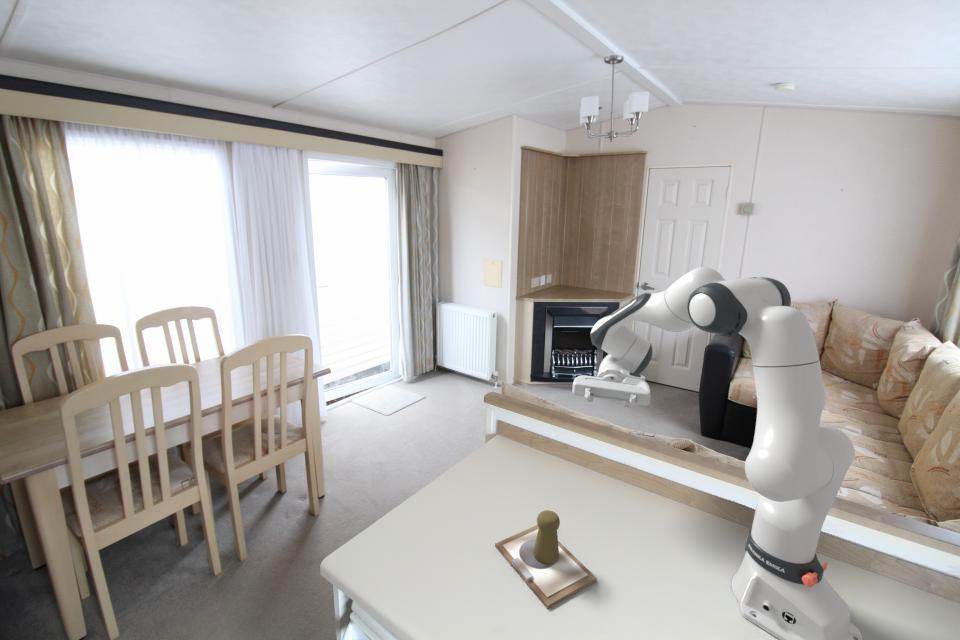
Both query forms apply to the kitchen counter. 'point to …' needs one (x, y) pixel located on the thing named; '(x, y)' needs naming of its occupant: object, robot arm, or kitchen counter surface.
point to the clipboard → (545, 568)
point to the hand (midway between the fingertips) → (608, 402)
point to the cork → (547, 538)
